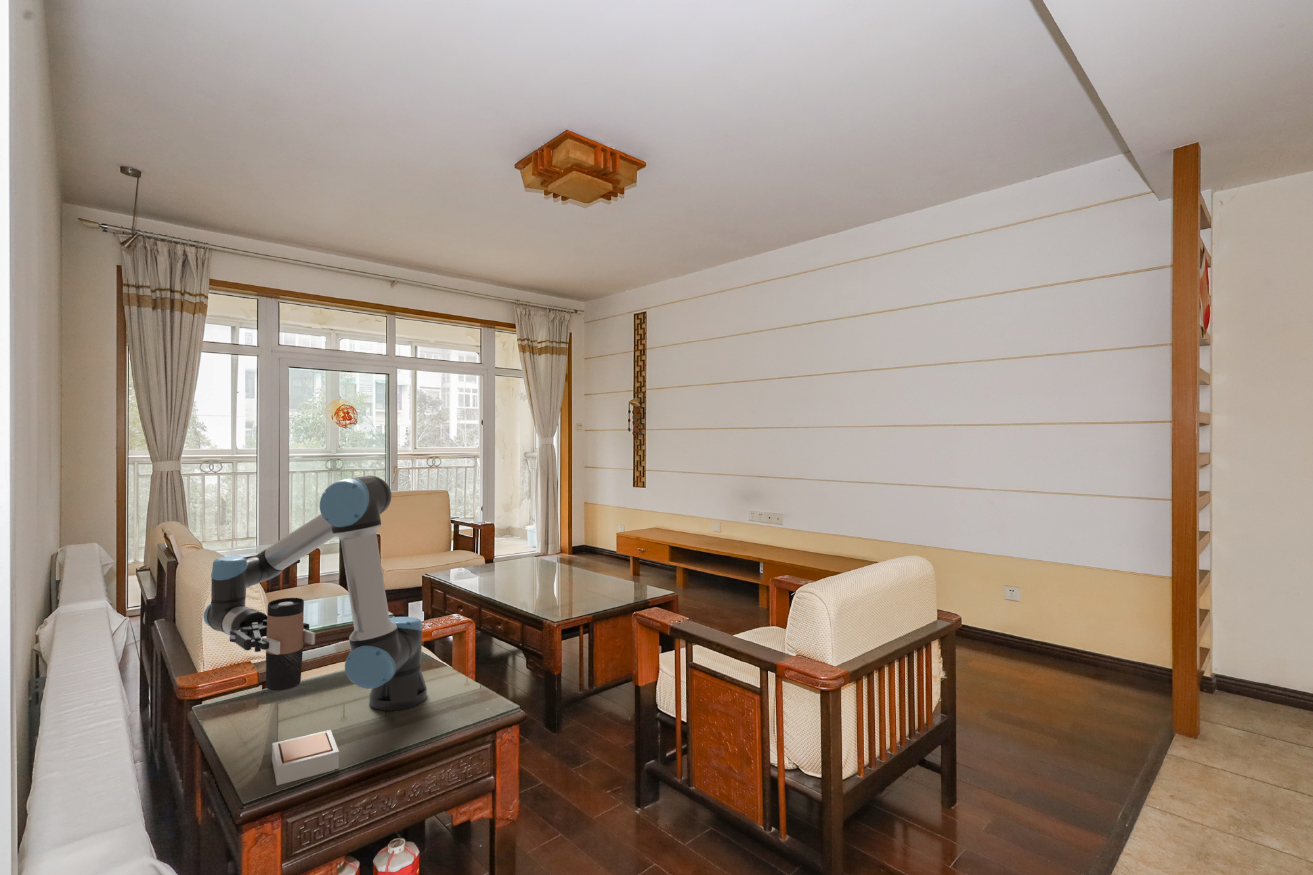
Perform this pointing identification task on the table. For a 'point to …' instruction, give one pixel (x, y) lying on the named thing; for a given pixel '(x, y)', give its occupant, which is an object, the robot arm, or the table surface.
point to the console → (305, 762)
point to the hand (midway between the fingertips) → (296, 643)
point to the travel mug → (285, 643)
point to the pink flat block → (304, 747)
